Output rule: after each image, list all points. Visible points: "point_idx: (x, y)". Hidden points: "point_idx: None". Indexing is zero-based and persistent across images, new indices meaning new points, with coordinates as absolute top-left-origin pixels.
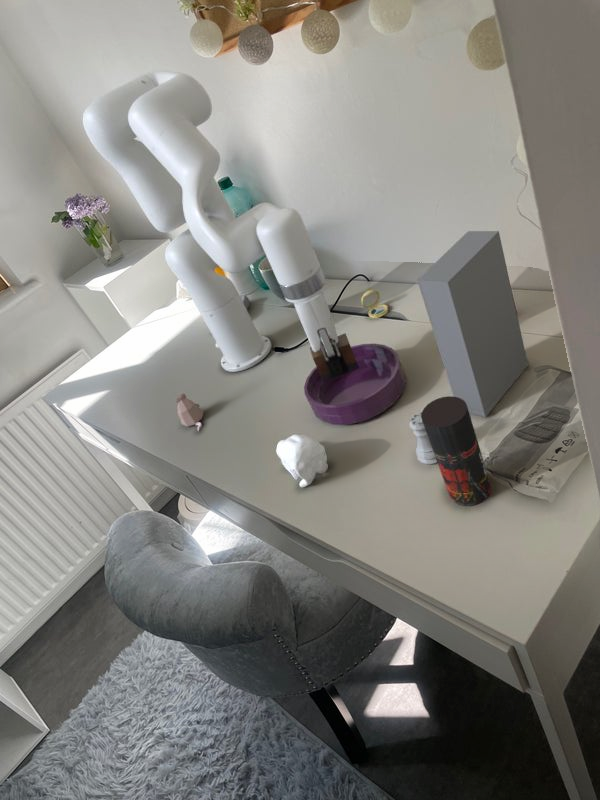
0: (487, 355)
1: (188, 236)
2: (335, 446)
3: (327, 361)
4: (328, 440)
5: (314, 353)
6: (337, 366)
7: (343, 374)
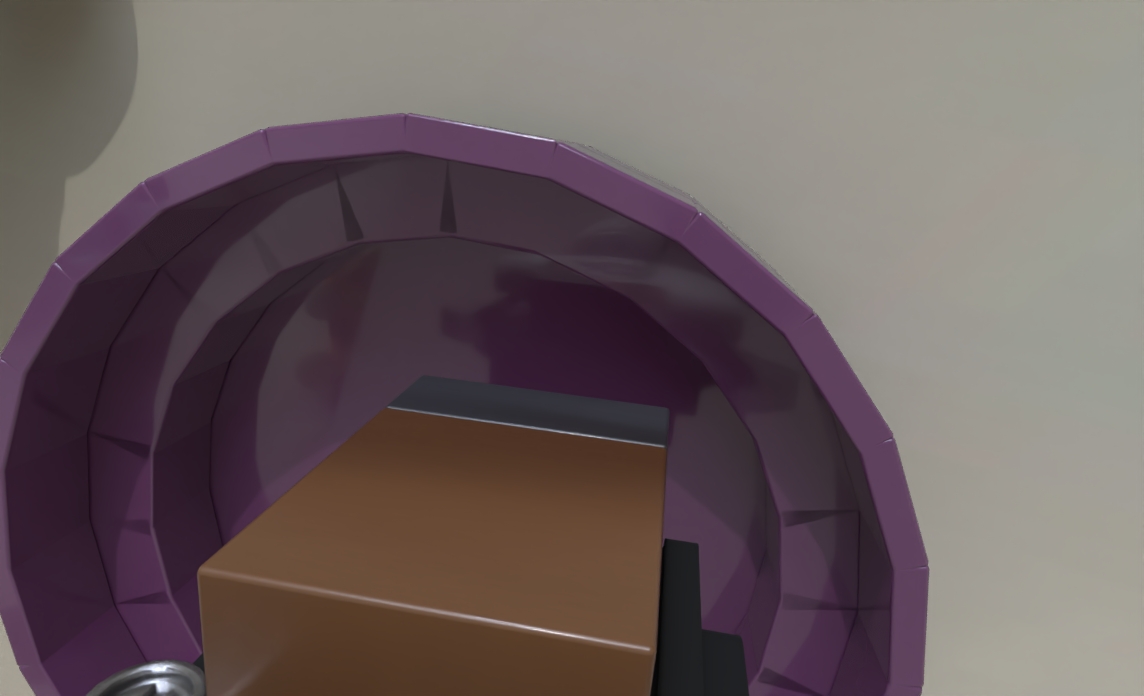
0: None
1: None
2: (38, 181)
3: (118, 683)
4: (118, 151)
5: (342, 645)
6: None
7: (768, 504)
